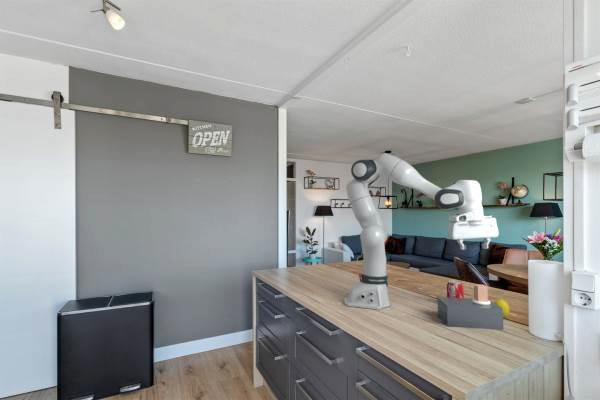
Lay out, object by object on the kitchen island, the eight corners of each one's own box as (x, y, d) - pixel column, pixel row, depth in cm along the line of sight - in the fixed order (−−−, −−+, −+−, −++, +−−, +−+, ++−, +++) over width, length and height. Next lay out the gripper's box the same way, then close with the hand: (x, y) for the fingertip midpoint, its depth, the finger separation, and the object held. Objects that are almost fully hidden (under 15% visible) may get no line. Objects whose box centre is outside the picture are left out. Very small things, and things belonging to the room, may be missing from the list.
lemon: (505, 321, 115) (504, 301, 116) (491, 317, 120) (490, 298, 121) (512, 319, 118) (511, 299, 118) (498, 315, 123) (497, 296, 123)
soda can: (466, 310, 129) (465, 283, 130) (449, 309, 130) (449, 283, 131) (460, 305, 136) (460, 280, 136) (445, 304, 137) (444, 279, 138)
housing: (447, 326, 110) (447, 305, 111) (437, 315, 122) (437, 297, 123) (503, 329, 107) (502, 308, 108) (487, 318, 119) (487, 299, 119)
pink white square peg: (476, 319, 111) (475, 287, 112) (469, 313, 118) (468, 283, 118) (494, 320, 110) (493, 287, 111) (486, 314, 117) (485, 284, 117)
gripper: (490, 215, 123) (493, 247, 122) (444, 217, 123) (447, 249, 122) (500, 215, 117) (504, 248, 116) (452, 217, 116) (455, 251, 115)
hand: (474, 249), depth 119 cm, fingers open, 8 cm apart
